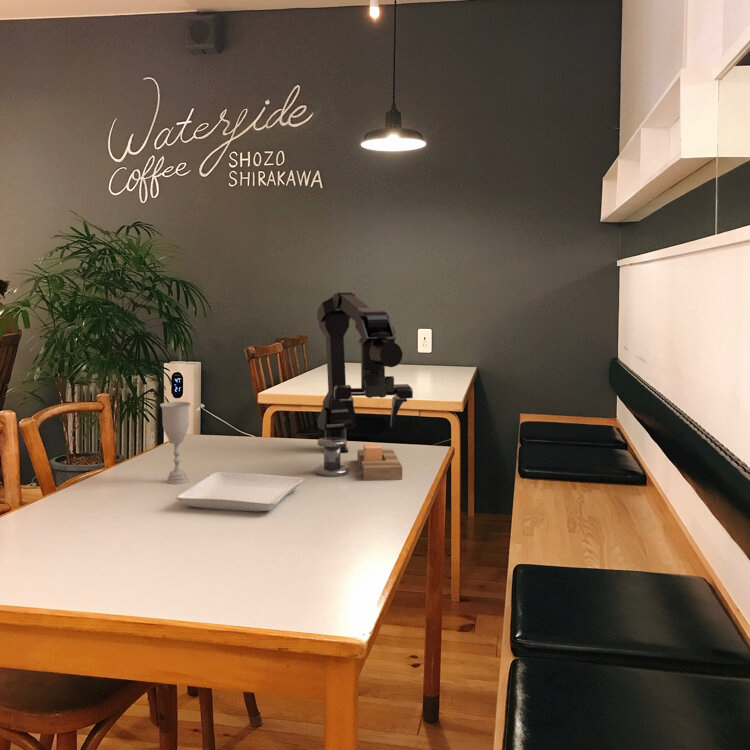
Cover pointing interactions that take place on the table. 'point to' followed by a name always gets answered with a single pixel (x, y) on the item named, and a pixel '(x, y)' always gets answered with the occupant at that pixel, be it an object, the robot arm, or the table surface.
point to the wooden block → (372, 452)
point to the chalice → (176, 434)
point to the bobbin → (332, 457)
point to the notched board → (380, 466)
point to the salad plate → (239, 491)
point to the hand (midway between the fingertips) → (373, 426)
